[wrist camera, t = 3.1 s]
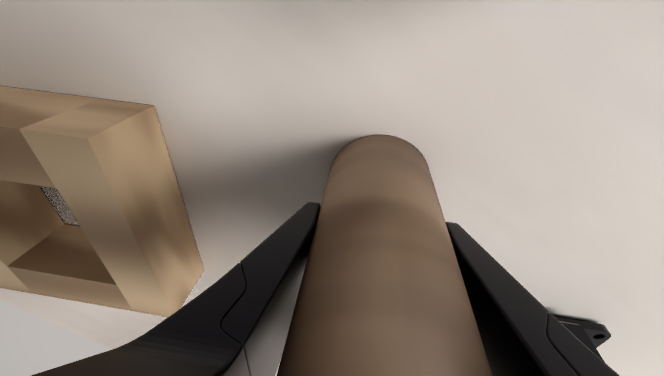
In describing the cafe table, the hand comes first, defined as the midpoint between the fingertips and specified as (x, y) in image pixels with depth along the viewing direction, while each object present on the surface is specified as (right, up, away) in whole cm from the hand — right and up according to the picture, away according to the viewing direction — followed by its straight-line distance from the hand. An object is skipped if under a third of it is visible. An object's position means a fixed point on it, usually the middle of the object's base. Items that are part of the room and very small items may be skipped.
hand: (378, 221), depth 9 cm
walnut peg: (0, +1, +2) cm, 2 cm away
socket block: (-17, +1, +5) cm, 17 cm away
